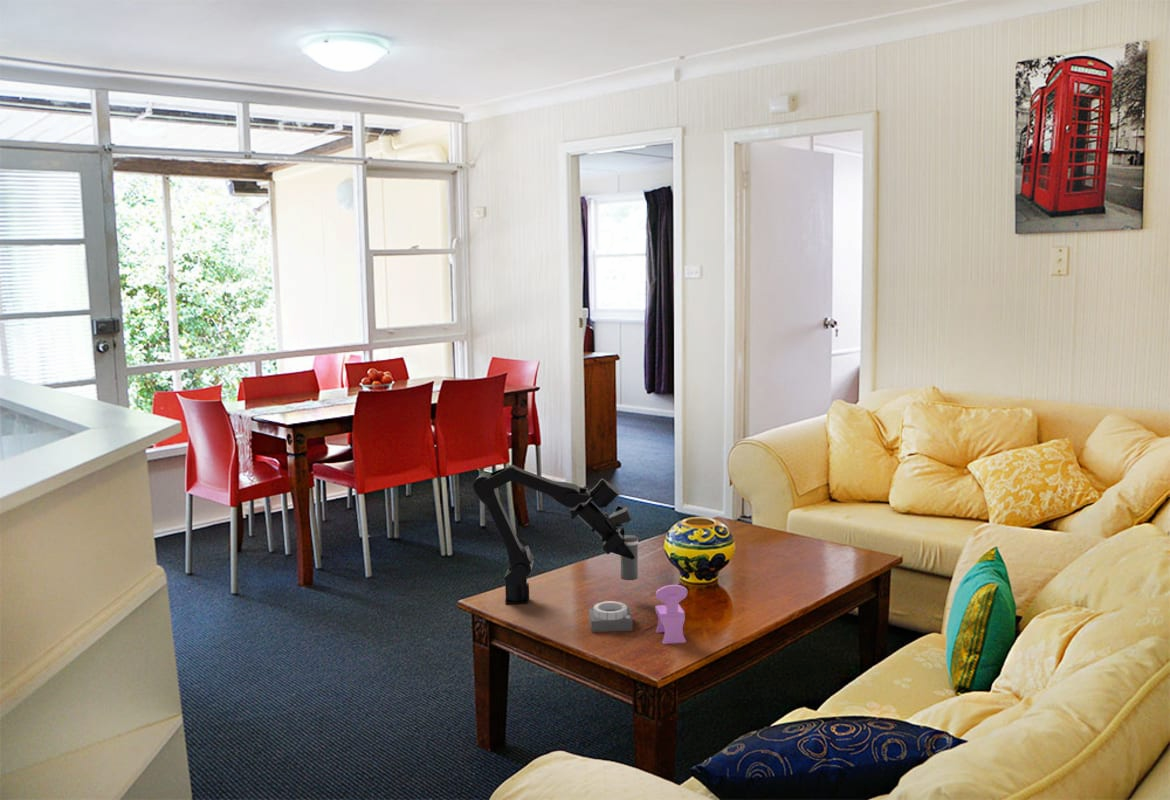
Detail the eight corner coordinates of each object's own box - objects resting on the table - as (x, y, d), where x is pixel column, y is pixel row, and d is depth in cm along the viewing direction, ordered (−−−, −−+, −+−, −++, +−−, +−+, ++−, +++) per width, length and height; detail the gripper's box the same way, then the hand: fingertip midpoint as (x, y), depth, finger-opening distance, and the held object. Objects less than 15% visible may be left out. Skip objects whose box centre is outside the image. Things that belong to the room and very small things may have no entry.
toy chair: (682, 629, 254) (681, 575, 252) (690, 642, 246) (689, 586, 244) (651, 631, 253) (650, 577, 251) (658, 644, 245) (657, 588, 243)
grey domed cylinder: (621, 580, 274) (620, 540, 273) (619, 575, 279) (619, 535, 278) (639, 580, 275) (638, 539, 273) (637, 574, 280) (636, 534, 278)
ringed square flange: (591, 632, 254) (591, 614, 253) (589, 619, 263) (589, 601, 263) (632, 630, 254) (632, 612, 254) (629, 617, 264) (628, 600, 263)
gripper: (614, 507, 265) (654, 545, 266) (615, 491, 283) (652, 527, 284) (586, 535, 266) (626, 573, 267) (588, 517, 285) (626, 553, 286)
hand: (633, 555), depth 276 cm, fingers closed on grey domed cylinder, 5 cm apart
